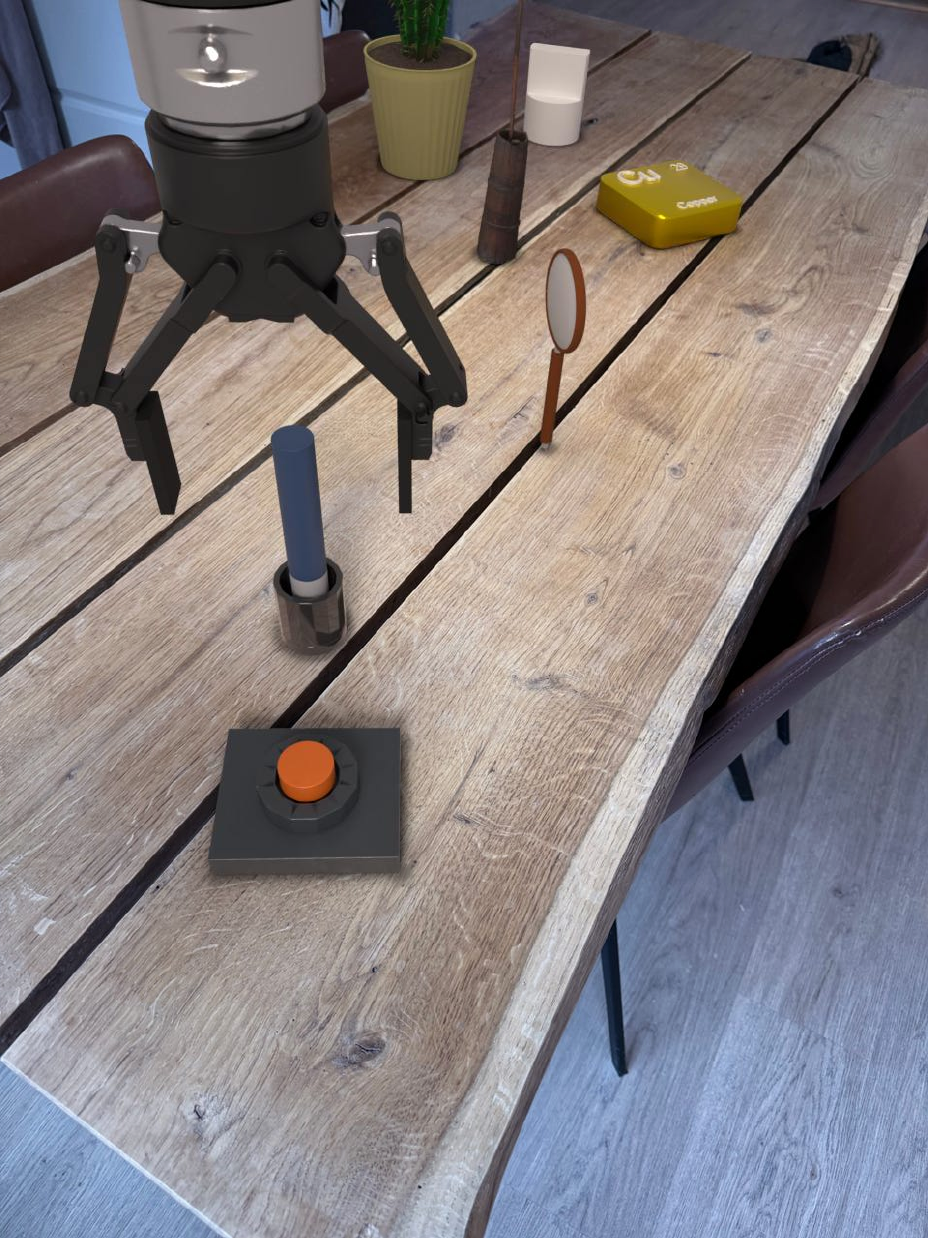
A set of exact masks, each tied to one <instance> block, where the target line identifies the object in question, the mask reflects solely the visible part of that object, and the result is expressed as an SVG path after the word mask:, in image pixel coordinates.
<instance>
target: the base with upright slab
mask: <svg viewBox="0 0 928 1238" xmlns="http://www.w3.org/2000/svg"><path fill="white" fill-rule="evenodd" d="M590 54H591V49H587V48H579V47H572V46H571V47H570V46H563V45H554V44H547V43H540V42H539V43H538V42H533V43H532V44H531V45H530V47H529V55H528V57H529V58H528V66H527V67H528V68H527V81H526V92H525V103H524V112H523V113H524V114H523V115H524V116H523V127H522V132H523V131H525V132H526V133H527V137H528V141H530V142H532V143H535V144H538V145H543V146H548V147H549V146H551V147H562V146H563V147H564V146H568V145H572V144H574V143H576V142H578V140H579V139H580V132H581V123H582V117H583V116H582V115H583V107H584V100H585V94H586V93H585V92H586V84H587V77H588V70H589V62H590V56H591V55H590Z"/></svg>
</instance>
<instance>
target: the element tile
mask: <svg viewBox="0 0 928 1238" xmlns="http://www.w3.org/2000/svg"><path fill="white" fill-rule="evenodd" d="M743 204H744V198H743V196H742V195H740V194H739V192H736V191H734V190H733V189H731V188H730V187H728V186H726V185H725V184H723V183H721V182H719V181H718V180H716V179H714V178H713V177H711V176H709V175H708V174H706V173H705V172H703V171H701V170H700V169H698V168H696V167H694V166H693V165H692V164H690V163H688V162H686V161H685V160H684V161H683V160H681V159H674V160H668V161H663V162H659V163H653V164H649V165H642V166H637V167H633V168H629V169H624V170H618V171H614V172H613V171H612V172H608V173H604V174H603V175H601V176H600V180H599V186H598V192H597V200H596V208H597V210H598V212H600V213H601V214H602V215H604V216H605V217H607V218H608V219H610V220H611V221H612V222H613V223H615V224H617V225H618V226H619V227H621V228H622V229H624V230H625V231H626V232H628V233H629V234H631V235H632V236H633V237H635V238H636V239H637V240H639V241H640V242H641V243H643V244H644V245H646V246H648V247H650V248H653V249H658V250H664V249H670V248H674V247H679V246H682V245H686V244H691V243H694V242H699V241H703V240H707V239H711V238H715V237H719V236H720V237H721V236H723V235H728V234H731V233H733V232H734V231H735V230H736V229H737V226H738V222H739V218H740V215H741V211H742V207H743Z"/></svg>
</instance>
